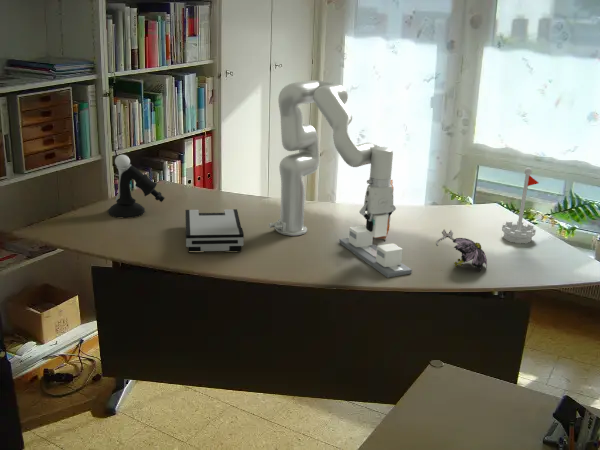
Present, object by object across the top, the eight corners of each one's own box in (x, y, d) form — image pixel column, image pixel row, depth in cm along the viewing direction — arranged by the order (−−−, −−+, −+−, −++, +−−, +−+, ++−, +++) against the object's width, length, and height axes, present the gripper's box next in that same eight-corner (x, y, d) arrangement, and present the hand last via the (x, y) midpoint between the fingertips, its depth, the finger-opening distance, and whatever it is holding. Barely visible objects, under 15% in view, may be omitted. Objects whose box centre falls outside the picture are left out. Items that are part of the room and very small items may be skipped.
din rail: (394, 271, 242) (395, 270, 242) (347, 238, 271) (347, 237, 270) (403, 270, 243) (403, 269, 243) (355, 237, 272) (355, 236, 272)
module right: (383, 267, 244) (385, 251, 242) (375, 261, 249) (376, 245, 247) (401, 264, 247) (402, 249, 245) (392, 258, 252) (393, 243, 250)
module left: (355, 247, 261) (356, 232, 259) (347, 242, 266) (348, 227, 264) (372, 245, 264) (373, 230, 262) (364, 239, 269) (365, 225, 267)
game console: (236, 225, 285) (237, 206, 282) (243, 255, 255) (243, 234, 252) (185, 226, 281) (185, 206, 279) (186, 256, 252) (185, 235, 249)
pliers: (437, 246, 270) (428, 228, 288) (437, 248, 270) (427, 230, 289) (462, 247, 270) (451, 229, 289) (462, 249, 270) (450, 231, 289)
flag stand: (495, 238, 283) (505, 167, 272) (510, 230, 292) (520, 161, 282) (524, 247, 274) (536, 174, 264) (539, 239, 284) (551, 168, 273)
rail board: (387, 277, 241) (387, 273, 240) (339, 242, 270) (339, 239, 270) (411, 273, 245) (411, 269, 244) (361, 239, 274) (361, 236, 274)
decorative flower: (492, 253, 240) (454, 232, 245) (476, 282, 243) (439, 261, 248) (497, 250, 254) (461, 231, 259) (482, 278, 256) (446, 258, 261)
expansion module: (374, 237, 251) (375, 216, 248) (365, 232, 256) (367, 211, 253) (386, 235, 253) (388, 215, 250) (377, 230, 258) (379, 210, 255)
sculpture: (111, 206, 300) (108, 149, 291) (166, 207, 302) (165, 151, 293) (105, 217, 286) (101, 159, 277) (163, 218, 288) (161, 160, 279)
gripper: (364, 186, 241) (361, 235, 247) (405, 182, 248) (401, 230, 254) (354, 181, 247) (350, 228, 253) (394, 177, 254) (390, 223, 260)
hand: (376, 228), depth 254 cm, fingers closed on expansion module, 5 cm apart
